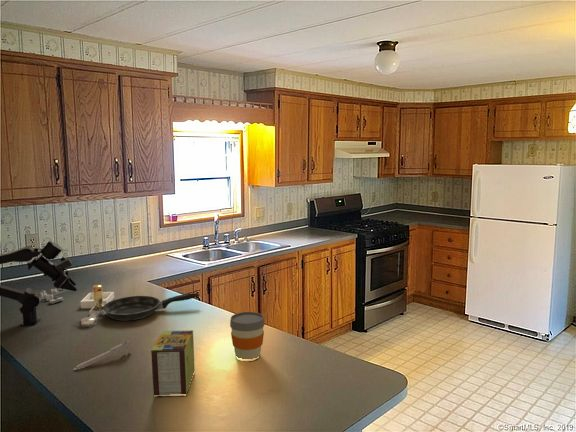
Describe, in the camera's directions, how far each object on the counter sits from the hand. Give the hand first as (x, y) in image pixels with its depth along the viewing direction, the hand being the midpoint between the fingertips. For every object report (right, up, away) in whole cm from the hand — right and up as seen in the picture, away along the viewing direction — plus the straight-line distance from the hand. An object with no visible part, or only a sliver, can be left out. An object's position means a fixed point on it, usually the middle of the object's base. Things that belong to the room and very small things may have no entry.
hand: (75, 287), depth 211 cm
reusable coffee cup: (+82, -19, -40) cm, 93 cm away
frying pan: (+31, -13, +7) cm, 34 cm away
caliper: (+30, -20, -44) cm, 57 cm away
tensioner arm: (+9, -14, 0) cm, 16 cm away
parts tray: (+2, -11, +20) cm, 23 cm away
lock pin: (+8, -13, +7) cm, 16 cm away
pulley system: (-27, -10, +31) cm, 42 cm away
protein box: (+60, -22, -60) cm, 88 cm away
